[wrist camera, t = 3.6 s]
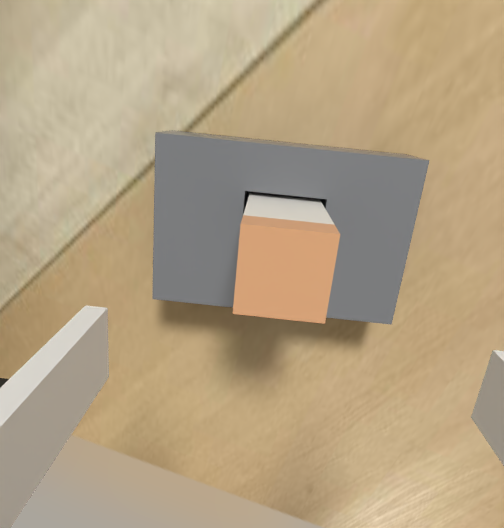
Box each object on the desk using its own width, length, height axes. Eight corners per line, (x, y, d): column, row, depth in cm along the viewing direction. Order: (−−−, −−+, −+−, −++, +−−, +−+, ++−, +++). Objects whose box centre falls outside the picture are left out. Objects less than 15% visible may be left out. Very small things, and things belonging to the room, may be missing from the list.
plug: (245, 248, 34) (232, 313, 22) (251, 186, 32) (240, 223, 21) (307, 254, 34) (325, 323, 22) (316, 193, 32) (340, 234, 21)
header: (168, 275, 36) (152, 298, 31) (172, 130, 32) (155, 132, 27) (375, 297, 36) (391, 324, 31) (406, 154, 32) (429, 160, 27)
